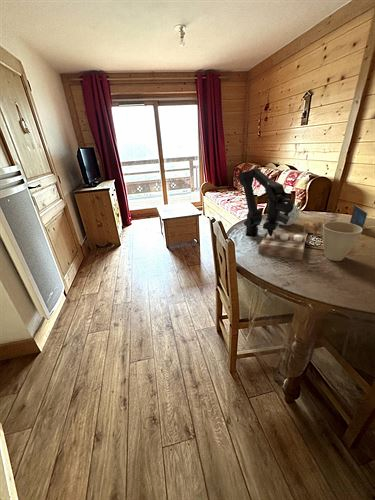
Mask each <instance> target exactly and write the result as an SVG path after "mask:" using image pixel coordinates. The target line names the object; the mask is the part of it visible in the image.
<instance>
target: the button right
mask: <svg viewBox="0 0 375 500" xmlns="http://www.w3.org/2000/svg"><path fill="white" fill-rule="evenodd" d="M302 235H303V234H302ZM302 235H294V239H293V241H297V242H302V241H303V236H302Z"/></svg>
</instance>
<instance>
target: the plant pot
mask: <svg viewBox="0 0 375 500" xmlns="http://www.w3.org/2000/svg"><path fill="white" fill-rule="evenodd" d="M361 232H362V233H363V230H362V228H361V227H359V226H357V225H355V224H351V223H350V222H344V221H327V222H325V223H324V224H323V230H322V247H323V253H324V256H325V258H326V259H327V260H329V261H335V262H339V261H340V262H341V261H342V260H344V259H345V258H346V256H347V255H348V254H349V253H350V251H351V250H352V249H353V247H354V246H355V245H356V243H357V241H358V239H359V237H360V236H361V235H362V233H361Z"/></svg>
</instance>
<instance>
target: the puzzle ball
mask: <svg viewBox="0 0 375 500" xmlns="http://www.w3.org/2000/svg"><path fill="white" fill-rule="evenodd" d="M293 205H294V207H293V210H292V211H291V212H290V213H288V216H290V219H289V221H288V222H287V224H284V223H282V222H280V221H278V225H281V226H286V227H287V226H290V225H293V224H294V223H296V222H297V220H298V219H299V216H300V213H299V211H300V210H299V208H298V207H297V205H295V204H293ZM280 213H283V214H284V212H281V211H280Z"/></svg>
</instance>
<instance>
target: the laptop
mask: <svg viewBox="0 0 375 500" xmlns="http://www.w3.org/2000/svg"><path fill="white" fill-rule="evenodd" d="M367 217H368V212H367V211H365V210H363V208H361V207H359V206H358V205H356V204H354V205H353V210H352V214H351V218H350V221H349V223H351V224H355V225H357V226H359V227H361V228H362V232H361V234H362V233H363V229H364V226H365V223H366V220H367Z"/></svg>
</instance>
